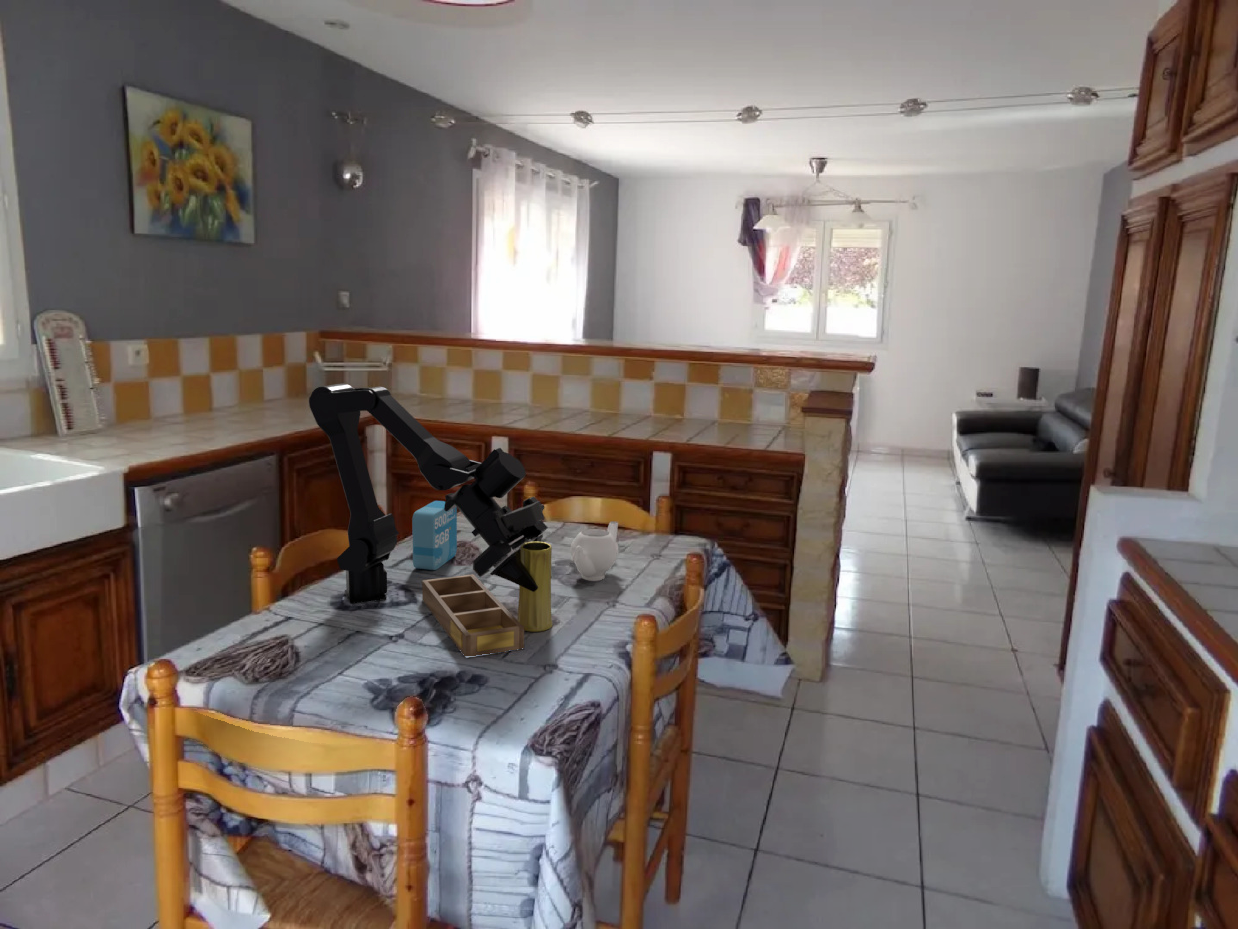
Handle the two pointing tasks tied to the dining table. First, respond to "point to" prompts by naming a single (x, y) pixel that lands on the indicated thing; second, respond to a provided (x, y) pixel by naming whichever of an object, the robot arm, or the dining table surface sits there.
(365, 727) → the dining table surface
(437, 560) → the data package
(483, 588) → the rack
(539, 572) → the vase
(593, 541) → the teapot
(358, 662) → the dining table surface
